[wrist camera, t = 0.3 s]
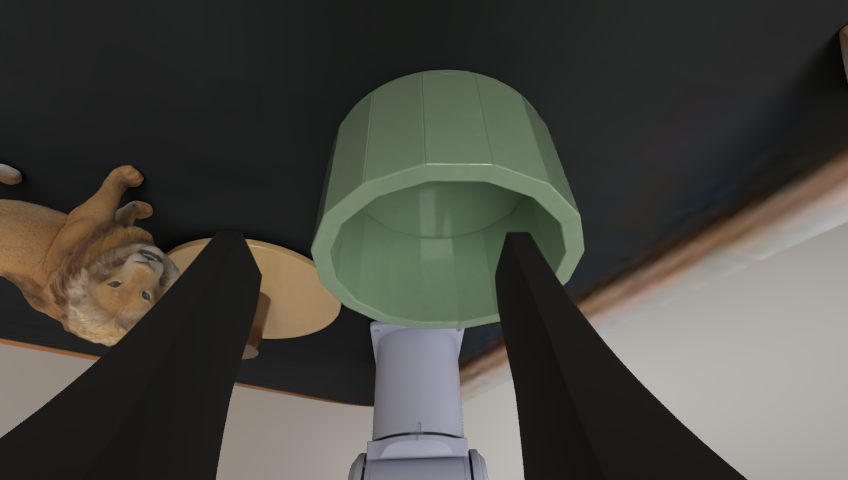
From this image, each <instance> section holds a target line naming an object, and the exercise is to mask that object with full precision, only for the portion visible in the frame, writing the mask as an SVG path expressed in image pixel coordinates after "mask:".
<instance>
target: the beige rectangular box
mask: <svg viewBox="0 0 848 480" xmlns="http://www.w3.org/2000/svg"><path fill="white" fill-rule="evenodd" d="M839 38H840V44H841V51H842V57H843V62H844V68H845V72H846V77H847V81H848V25H847V26H845V27H844V28H842V29H841V30H840V32H839Z"/></svg>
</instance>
